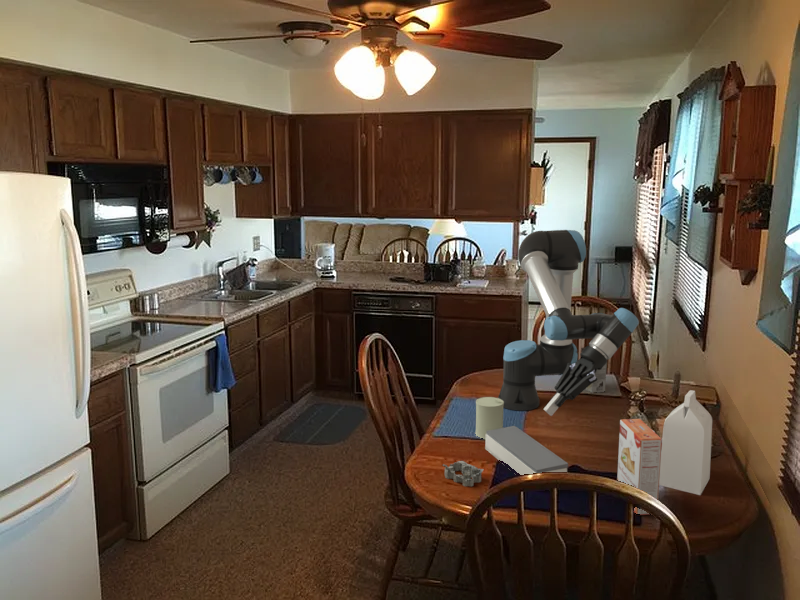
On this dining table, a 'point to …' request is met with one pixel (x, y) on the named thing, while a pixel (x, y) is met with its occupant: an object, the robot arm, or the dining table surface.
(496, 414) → the can
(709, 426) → the milk
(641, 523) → the dining table surface
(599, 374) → the coffee box
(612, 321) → the robot arm
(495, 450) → the hinged pencil box
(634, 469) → the cracker box
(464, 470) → the grey lumpy piece
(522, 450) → the cover
